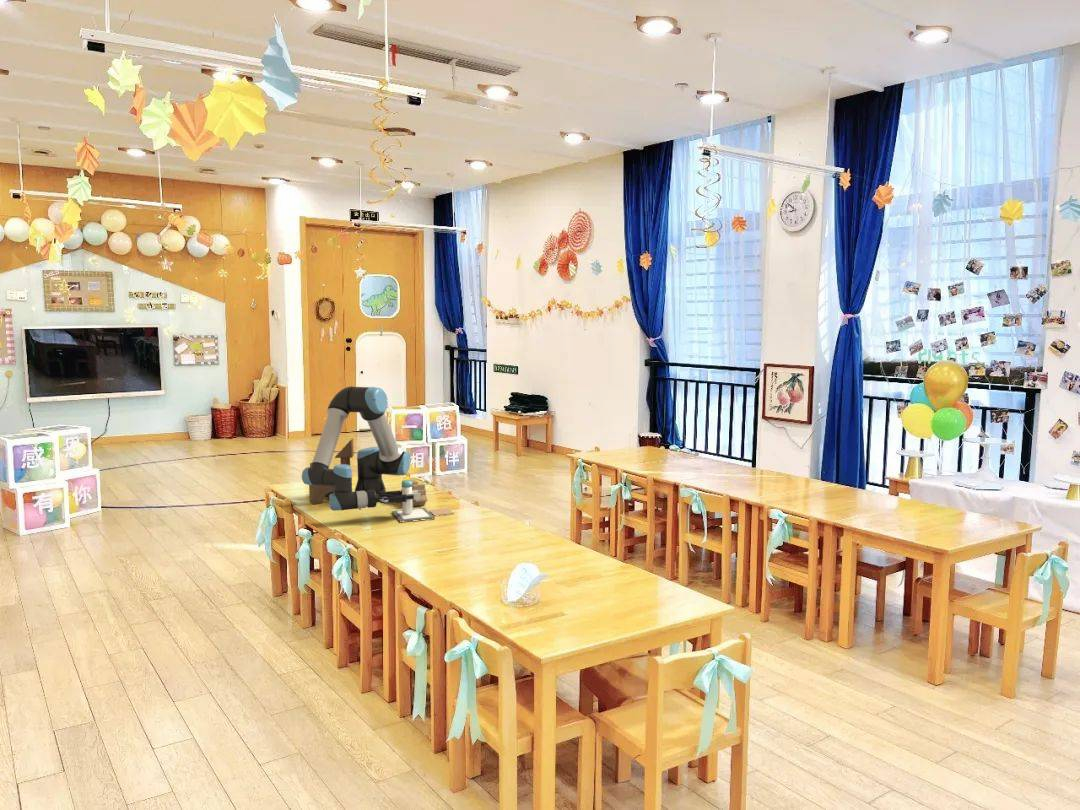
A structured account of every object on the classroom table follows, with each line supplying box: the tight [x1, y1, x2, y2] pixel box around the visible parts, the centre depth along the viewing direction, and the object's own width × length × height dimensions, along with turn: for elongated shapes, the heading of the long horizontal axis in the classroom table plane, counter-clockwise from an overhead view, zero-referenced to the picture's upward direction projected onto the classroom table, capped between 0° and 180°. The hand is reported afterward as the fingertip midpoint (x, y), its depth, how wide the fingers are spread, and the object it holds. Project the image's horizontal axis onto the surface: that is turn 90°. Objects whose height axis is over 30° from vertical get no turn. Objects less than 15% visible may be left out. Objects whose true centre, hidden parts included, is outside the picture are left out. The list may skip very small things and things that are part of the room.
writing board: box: [391, 507, 436, 523], centre depth 353 cm, size 18×15×1 cm
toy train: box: [402, 479, 428, 507], centre depth 375 cm, size 6×17×10 cm, turn 31°
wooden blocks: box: [308, 438, 355, 505], centre depth 385 cm, size 24×20×28 cm
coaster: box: [428, 507, 455, 517], centre depth 358 cm, size 9×9×1 cm
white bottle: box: [401, 480, 413, 514], centre depth 352 cm, size 5×5×14 cm
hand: (419, 494), depth 354 cm, fingers closed on white bottle, 4 cm apart
